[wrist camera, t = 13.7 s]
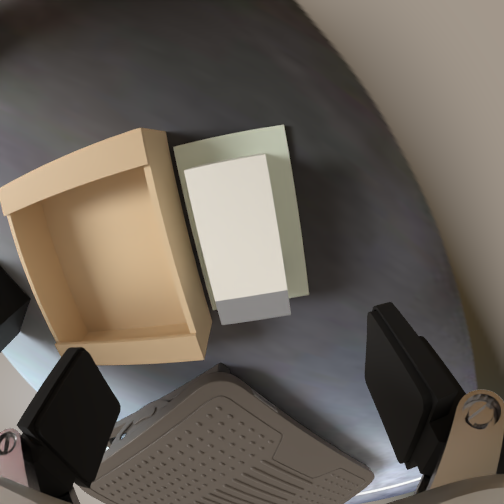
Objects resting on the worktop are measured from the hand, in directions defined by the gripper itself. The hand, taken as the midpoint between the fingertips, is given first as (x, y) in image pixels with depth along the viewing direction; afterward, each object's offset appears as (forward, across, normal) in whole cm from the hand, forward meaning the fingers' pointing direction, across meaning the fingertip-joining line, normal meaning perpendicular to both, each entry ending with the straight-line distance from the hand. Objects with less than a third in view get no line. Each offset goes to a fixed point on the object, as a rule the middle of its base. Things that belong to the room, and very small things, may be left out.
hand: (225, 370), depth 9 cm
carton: (+18, +12, 0) cm, 21 cm away
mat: (+18, 0, 0) cm, 18 cm away
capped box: (+17, 0, 0) cm, 17 cm away
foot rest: (+18, +8, +37) cm, 42 cm away
